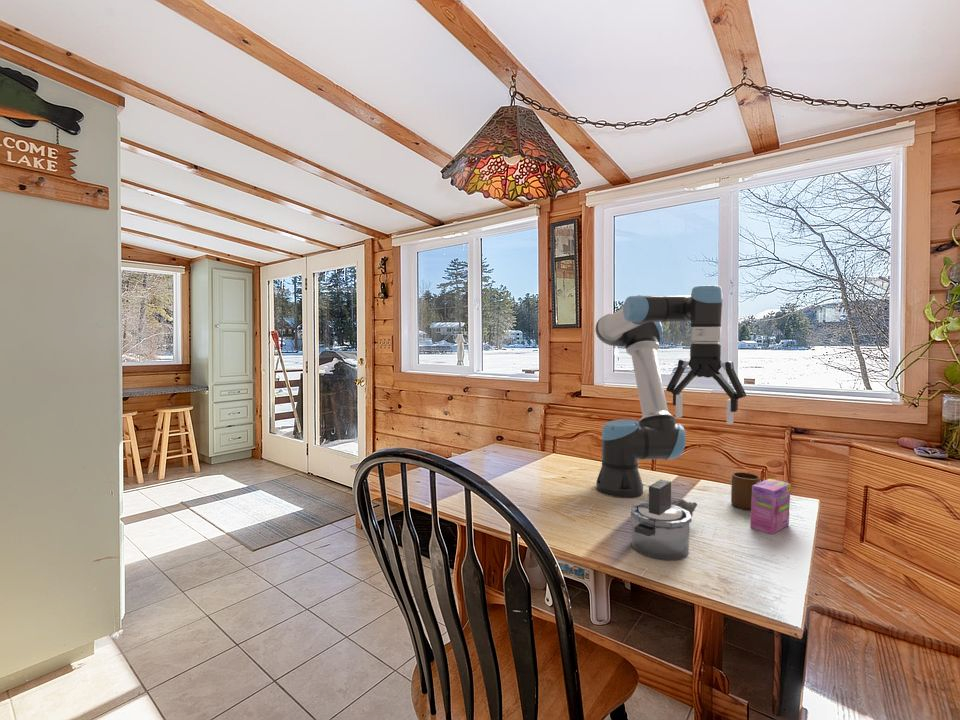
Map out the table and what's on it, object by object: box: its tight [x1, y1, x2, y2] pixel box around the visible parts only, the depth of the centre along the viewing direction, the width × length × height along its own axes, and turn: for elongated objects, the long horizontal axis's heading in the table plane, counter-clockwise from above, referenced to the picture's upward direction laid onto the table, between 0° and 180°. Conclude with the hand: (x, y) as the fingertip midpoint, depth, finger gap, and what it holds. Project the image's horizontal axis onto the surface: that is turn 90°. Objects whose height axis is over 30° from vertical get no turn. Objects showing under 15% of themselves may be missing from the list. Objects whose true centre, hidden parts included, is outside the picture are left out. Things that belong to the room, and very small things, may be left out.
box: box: [749, 478, 792, 535], centre depth 128 cm, size 10×6×12 cm, turn 126°
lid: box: [638, 479, 682, 521], centre depth 115 cm, size 10×10×8 cm
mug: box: [730, 471, 761, 511], centre depth 142 cm, size 12×8×9 cm, turn 10°
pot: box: [630, 501, 693, 562], centre depth 115 cm, size 14×18×9 cm
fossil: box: [671, 498, 698, 518], centre depth 129 cm, size 11×9×8 cm
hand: (703, 420), depth 130 cm, fingers open, 13 cm apart
